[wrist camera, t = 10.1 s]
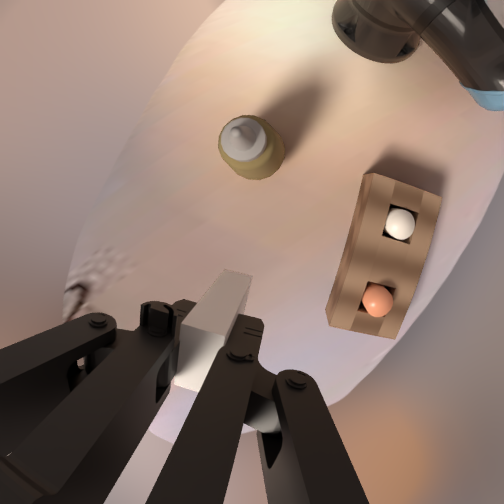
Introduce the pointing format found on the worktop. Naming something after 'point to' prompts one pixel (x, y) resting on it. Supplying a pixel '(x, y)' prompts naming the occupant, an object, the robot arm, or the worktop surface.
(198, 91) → the worktop surface
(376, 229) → the walnut plug block
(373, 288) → the terracotta plug
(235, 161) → the squeeze bottle
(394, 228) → the white oval piece
